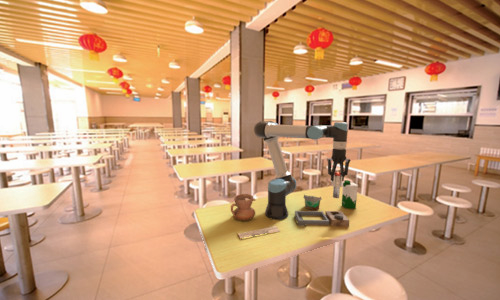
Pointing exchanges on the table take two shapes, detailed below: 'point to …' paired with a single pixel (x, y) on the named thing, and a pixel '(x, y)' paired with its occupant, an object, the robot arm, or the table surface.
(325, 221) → the tray
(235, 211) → the ceramic jug
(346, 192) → the milk carton
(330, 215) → the block
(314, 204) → the half moon wedge
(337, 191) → the pin
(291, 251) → the table surface
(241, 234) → the newspaper
